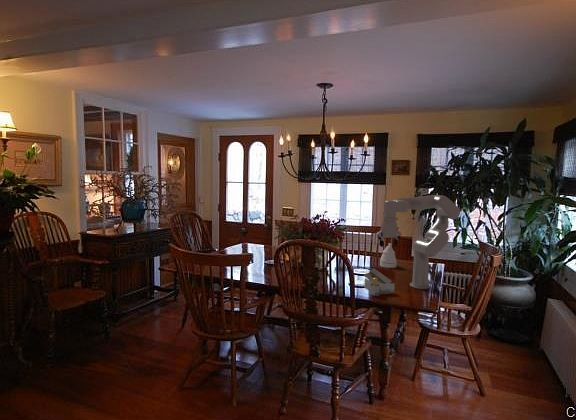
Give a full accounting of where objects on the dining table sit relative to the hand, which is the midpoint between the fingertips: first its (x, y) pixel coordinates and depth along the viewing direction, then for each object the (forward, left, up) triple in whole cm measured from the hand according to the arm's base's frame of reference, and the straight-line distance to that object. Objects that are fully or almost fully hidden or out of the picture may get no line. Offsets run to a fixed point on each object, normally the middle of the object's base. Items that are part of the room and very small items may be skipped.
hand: (388, 246), depth 237 cm
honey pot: (-32, -56, -29) cm, 71 cm away
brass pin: (+12, +8, -28) cm, 32 cm away
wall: (+1, -9, -29) cm, 30 cm away
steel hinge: (+7, +3, -28) cm, 29 cm away
